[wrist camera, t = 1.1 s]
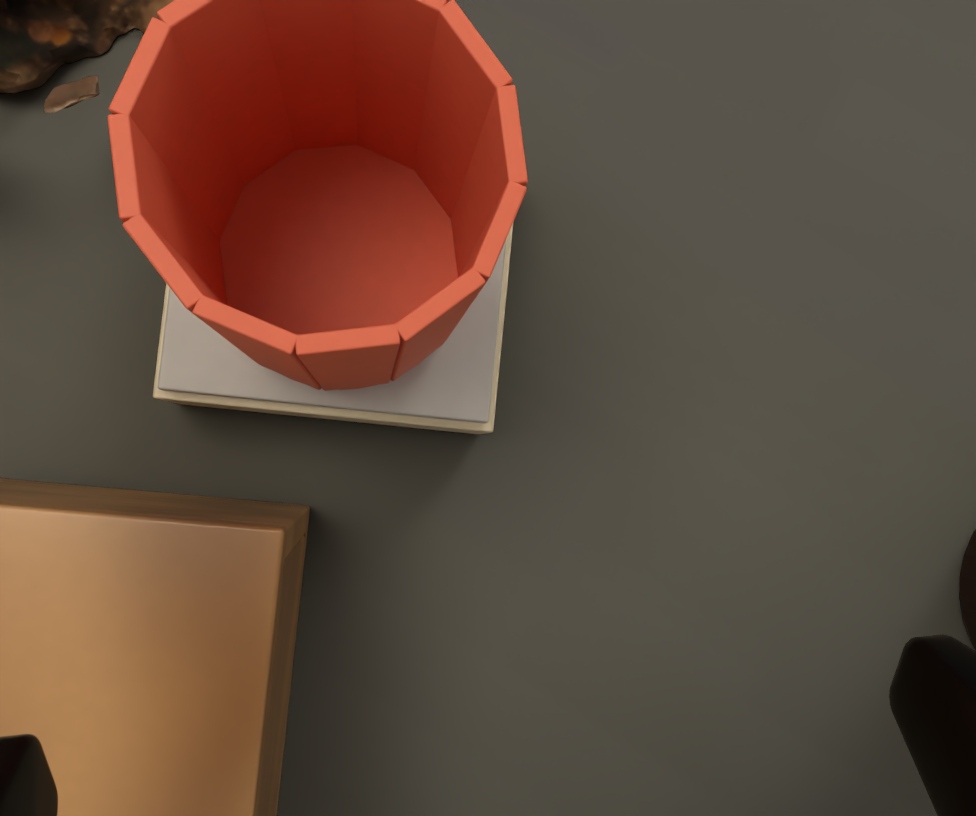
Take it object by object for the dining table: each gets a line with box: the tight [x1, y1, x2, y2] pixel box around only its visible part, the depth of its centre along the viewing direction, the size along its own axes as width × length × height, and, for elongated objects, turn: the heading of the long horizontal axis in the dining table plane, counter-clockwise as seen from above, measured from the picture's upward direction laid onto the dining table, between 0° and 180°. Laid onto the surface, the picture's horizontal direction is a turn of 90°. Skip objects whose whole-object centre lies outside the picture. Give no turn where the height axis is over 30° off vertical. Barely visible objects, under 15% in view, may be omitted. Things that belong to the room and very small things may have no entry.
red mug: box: [108, 0, 528, 391], centre depth 17 cm, size 8×6×8 cm
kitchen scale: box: [153, 224, 513, 434], centre depth 22 cm, size 7×8×3 cm
